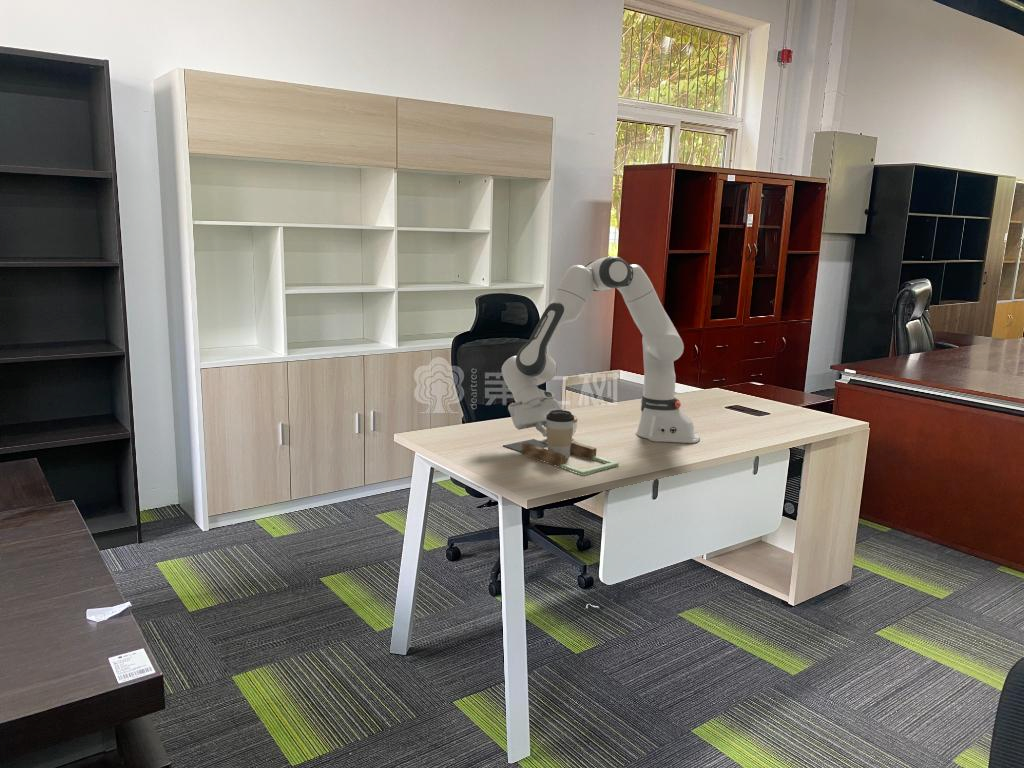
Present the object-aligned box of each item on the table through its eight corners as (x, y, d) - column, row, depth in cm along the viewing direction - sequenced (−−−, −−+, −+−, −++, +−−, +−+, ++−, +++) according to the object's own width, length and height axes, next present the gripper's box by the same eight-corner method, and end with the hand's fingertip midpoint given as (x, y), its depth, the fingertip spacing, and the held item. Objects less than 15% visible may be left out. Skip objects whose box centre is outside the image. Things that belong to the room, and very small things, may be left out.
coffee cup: (543, 451, 247) (545, 407, 244) (571, 452, 247) (573, 408, 244) (545, 459, 238) (547, 414, 235) (574, 460, 238) (576, 414, 235)
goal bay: (560, 467, 230) (560, 464, 230) (595, 458, 241) (595, 455, 241) (582, 475, 223) (583, 472, 223) (618, 465, 234) (618, 462, 234)
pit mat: (503, 446, 252) (503, 445, 252) (533, 439, 261) (533, 438, 261) (520, 452, 245) (520, 451, 245) (551, 445, 254) (551, 444, 254)
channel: (521, 454, 244) (521, 443, 243) (556, 446, 254) (557, 436, 253) (560, 467, 230) (561, 456, 230) (595, 458, 241) (596, 448, 240)
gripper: (510, 398, 241) (529, 434, 236) (556, 391, 254) (575, 426, 249) (501, 409, 245) (519, 445, 240) (546, 402, 259) (565, 435, 253)
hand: (548, 435), depth 245 cm, fingers closed, pressing on coffee cup
